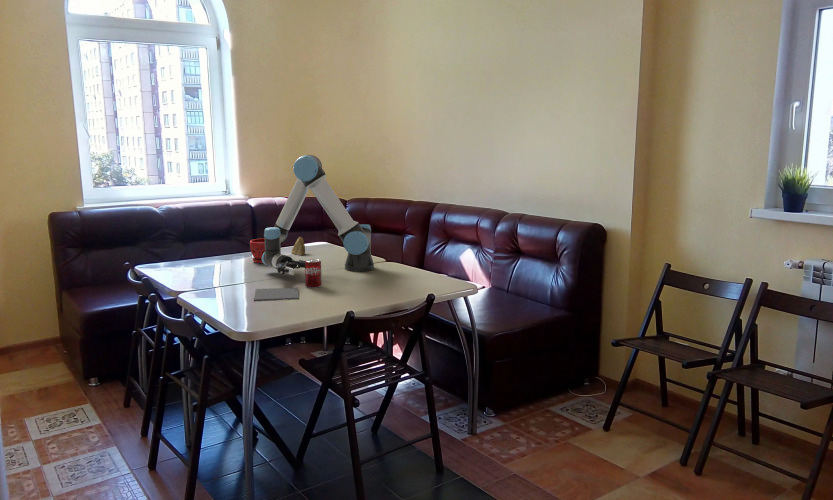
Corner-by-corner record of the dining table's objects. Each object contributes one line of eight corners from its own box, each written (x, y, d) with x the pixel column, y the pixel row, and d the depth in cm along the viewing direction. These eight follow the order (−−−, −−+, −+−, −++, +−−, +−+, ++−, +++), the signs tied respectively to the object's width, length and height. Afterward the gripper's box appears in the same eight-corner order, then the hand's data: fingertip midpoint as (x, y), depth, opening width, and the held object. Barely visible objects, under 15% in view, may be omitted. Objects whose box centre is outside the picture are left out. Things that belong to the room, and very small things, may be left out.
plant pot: (264, 258, 340) (263, 237, 338) (280, 261, 332) (280, 239, 330) (245, 262, 329) (244, 240, 327) (261, 265, 322) (260, 242, 320)
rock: (309, 251, 348) (310, 246, 358) (300, 240, 346) (300, 235, 355) (294, 262, 349) (295, 257, 359) (284, 251, 346) (285, 246, 356)
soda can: (306, 284, 280) (305, 259, 278) (322, 284, 281) (321, 258, 279) (304, 288, 273) (303, 262, 271) (321, 288, 274) (320, 262, 272)
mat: (297, 288, 273) (297, 287, 273) (298, 299, 255) (298, 297, 255) (255, 290, 269) (255, 289, 269) (254, 300, 252) (253, 299, 252)
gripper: (305, 267, 303) (329, 274, 287) (259, 273, 287) (282, 282, 271) (305, 252, 302) (329, 258, 286) (258, 258, 285) (281, 265, 270)
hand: (306, 270), depth 279 cm, fingers open, 13 cm apart
